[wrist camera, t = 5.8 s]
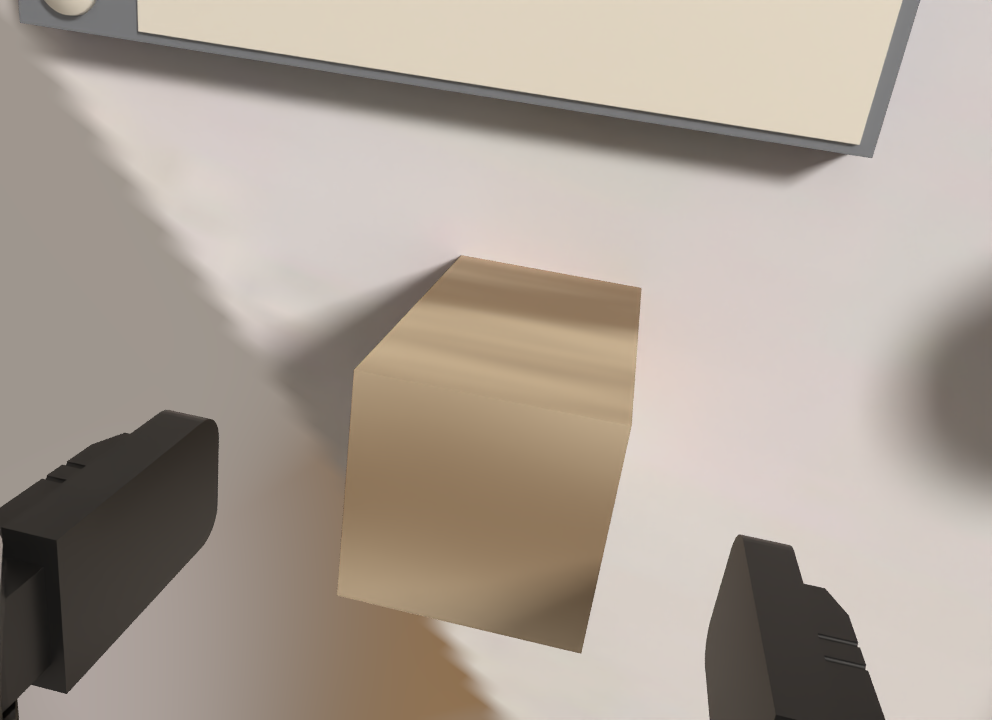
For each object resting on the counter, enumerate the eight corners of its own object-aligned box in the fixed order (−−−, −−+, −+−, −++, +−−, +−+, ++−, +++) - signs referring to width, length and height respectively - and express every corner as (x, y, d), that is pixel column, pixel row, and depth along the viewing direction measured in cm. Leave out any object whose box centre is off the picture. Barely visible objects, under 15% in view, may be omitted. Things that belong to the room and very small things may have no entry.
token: (461, 255, 18) (353, 369, 12) (641, 288, 18) (631, 426, 11) (441, 416, 20) (337, 595, 13) (607, 450, 19) (580, 653, 13)
